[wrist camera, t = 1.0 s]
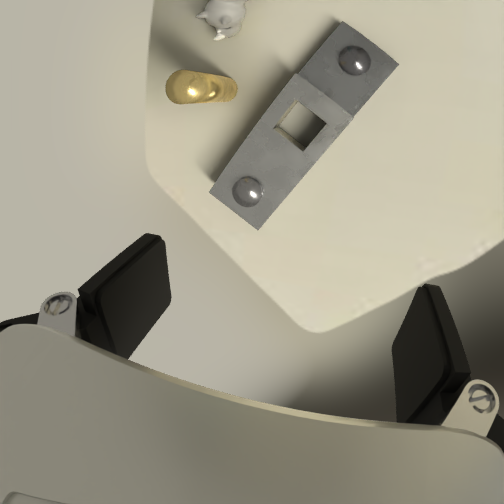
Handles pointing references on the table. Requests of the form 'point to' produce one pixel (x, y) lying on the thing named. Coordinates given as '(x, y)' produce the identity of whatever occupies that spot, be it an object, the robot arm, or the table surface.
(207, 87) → the pin
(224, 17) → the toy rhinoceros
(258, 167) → the grey flat bar
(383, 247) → the table surface
